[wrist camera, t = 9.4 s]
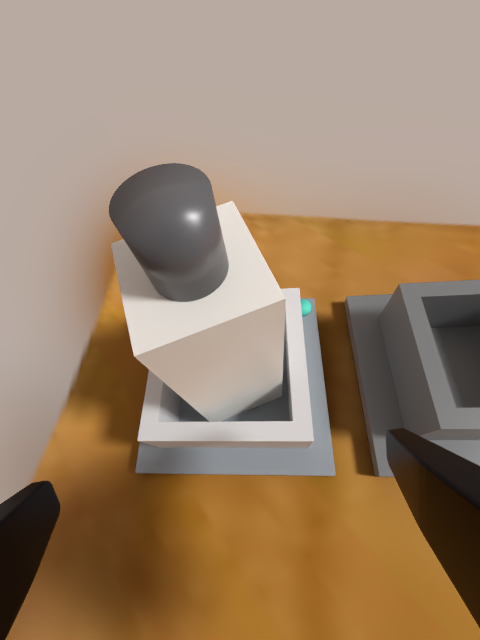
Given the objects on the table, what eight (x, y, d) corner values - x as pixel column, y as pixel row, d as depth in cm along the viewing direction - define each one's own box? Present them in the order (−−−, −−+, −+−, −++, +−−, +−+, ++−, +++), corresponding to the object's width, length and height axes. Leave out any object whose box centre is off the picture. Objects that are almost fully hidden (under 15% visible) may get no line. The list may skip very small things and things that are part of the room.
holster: (602, 479, 14) (725, 479, 10) (374, 476, 15) (407, 474, 11) (512, 295, 18) (571, 247, 15) (344, 303, 19) (360, 260, 16)
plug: (281, 396, 16) (288, 228, 5) (212, 424, 16) (75, 306, 5) (254, 335, 18) (219, 120, 7) (192, 359, 18) (61, 173, 7)
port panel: (333, 475, 15) (348, 474, 12) (141, 473, 16) (105, 471, 13) (312, 304, 20) (320, 268, 16) (165, 311, 21) (144, 278, 17)
